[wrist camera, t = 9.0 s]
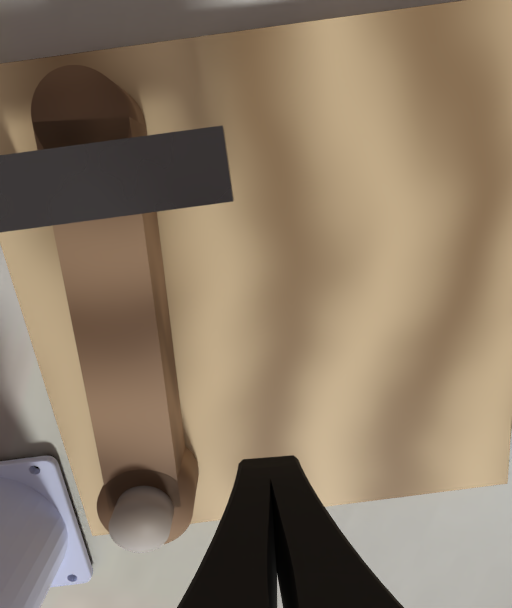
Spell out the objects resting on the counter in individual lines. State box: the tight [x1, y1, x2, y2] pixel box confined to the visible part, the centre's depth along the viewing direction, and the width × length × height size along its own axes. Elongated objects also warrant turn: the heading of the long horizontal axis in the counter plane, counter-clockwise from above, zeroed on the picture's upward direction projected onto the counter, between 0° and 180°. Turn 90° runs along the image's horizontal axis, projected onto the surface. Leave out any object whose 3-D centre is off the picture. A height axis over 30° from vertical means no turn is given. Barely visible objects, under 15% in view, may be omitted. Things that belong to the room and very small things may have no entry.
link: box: [31, 65, 199, 553], centre depth 15 cm, size 18×4×3 cm, turn 3°
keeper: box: [0, 125, 234, 233], centre depth 14 cm, size 9×2×6 cm, turn 97°
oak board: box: [0, 0, 512, 536], centre depth 18 cm, size 21×21×1 cm
